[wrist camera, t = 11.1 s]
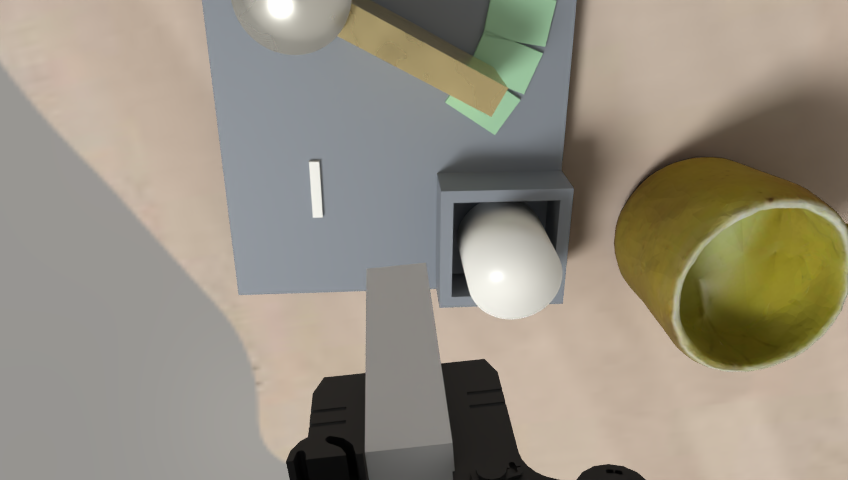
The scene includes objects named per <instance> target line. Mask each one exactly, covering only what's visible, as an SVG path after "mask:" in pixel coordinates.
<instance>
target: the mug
mask: <svg viewBox="0 0 848 480" xmlns="http://www.w3.org/2000/svg"><path fill="white" fill-rule="evenodd" d="M614 247H615V255H616V259H617V263H618V266H619V269H620V272H621V274H622V276H623V278H624V279H625V281H626V282H627V283H628V285H629V286H630V288H631V289H632V290H633V291H634V292H635V293H636V294H637V295H638V296H639V298H640V299H641V300H642V301H643V302H644V303H645V305H646V306H647V308H648V309H649V310H650V312H651V313H652V314H653V316H654V317H655V318H656V320H657V321H658V322H659V324H660V325H661V326H662V328H663V329H664V330H665V332H666V333H667V334H668V336H669V337H670V339H671V340H672V342H673V343H674V344H675V345H676V347H677V348H678V349H680V350H681V351H682V352H683V353H684V354H685V355H687V356H688V357H689V358H691V359H692V360H693V361H695V362H697V363H700V364H702V365H704V366H706V367H709V368H713V369H717V370H721V371H727V372H748V371H754V370H760V369H764V368H768V367H771V366H774V365H777V364H779V363H781V362H784V361H786V360H788V359H791V358H794V357H796V356H797V355H799V354H801V353H802V352H804V351H805V350H807V349H808V348H809V347H810V346H812V345H813V344H814V343H815V342H816V341H817V340H818V339H820V338H821V337H822V336H823V335H824V334H825V333H826V331H827V330H828V329H829V328H830V327H831V326H832V324H833V323H834V321H835V320H836V318H837V316H838V315H839V313H840V312H841V310H842V307H843V304H844V302H845V299H846V297H847V295H848V224H846V223H845V222H844V221H843V220H842V218H841V217H840V216H839V214H838V213H837V212H836V211H835V210H834V209H833V208H831V207H830V206H829V205H828V204H826V203H825V202H824V201H822V200H821V199H820V198H818V197H817V196H816V195H814V194H813V193H811V192H810V191H809V190H807V189H805V188H803V187H801V186H799V185H797V184H795V183H792V182H790V181H787V180H785V179H782V178H779V177H776V176H773V175H770V174H768V173H765V172H762V171H759V170H756V169H754V168H751V167H748V166H745V165H743V164H740V163H737V162H734V161H731V160H728V159H724V158H716V157H702V158H691V159H687V160H683V161H679V162H675V163H673V164H670V165H668V166H666V167H664V168H662V169H660V170H658V171H657V172H655V173H654V174H652V175H651V176H649V177H648V178H647V179H646V180H645V181H644V182H642V183H641V185H640V186H639V187H638V188H637V189H636V190H635V191H634V193H633V194H632V195H631V197H630V198H629V199H628V201H627V202H626V204H625V206H624V207H623V209H622V210H621V213H620V215H619V218H618V221H617V224H616V230H615V239H614Z"/></svg>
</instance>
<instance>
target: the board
mask: <svg viewBox="0 0 848 480" xmlns="http://www.w3.org/2000/svg"><path fill="white" fill-rule="evenodd" d="M371 1H373V2H375V3H377V4H379V5H381V6H382V7H384V8H386V9H388V10H390V11H392V12H393V13H395V14H397V15H399V16H401V17H402V18H404V19H406V20H408V21H410V22H412V23H413V24H415V25H417V26H419V27H421V28H423V29H424V30H426V31H428V32H430V33H432V34H434V35H435V36H437V37H439V38H441V39H443V40H445V41H446V42H448V43H450V44H452V45H454V46H456V47H457V48H459V49H461V50H463V51H465V52H467V53H468V54H470V55H472V56H474V57H476V58H478V59H479V60H481V61H483V62H485V63H487V64H489V65H490V66H492V67H494V68H495V70H496V71H497V73H498V74H499V76H500V77H501V78H502V80H503V81H504V83H505V84H506V85H507V87H508V90H507V91H506V93H505V95H504V96H503V98H502V100H501V102H500V103H499V105H498V107H497V108H496V110H495V112H494V113H493V115H492V117H490V116H489V115H487V114H485V113H483V112H481V111H479V110H477V109H475V108H473V107H471V106H470V105H468V104H466V103H464V102H462V101H460V100H458V99H456V98H454V97H452V96H450V95H449V94H447V93H445V92H443V91H441V90H439V89H437V88H435V87H433V86H431V85H430V84H428V83H426V82H424V81H422V80H420V79H418V78H416V77H414V76H412V75H410V74H409V73H407V72H405V71H403V70H401V69H399V68H397V67H395V66H393V65H391V64H389V63H388V62H386V61H384V60H382V59H380V58H378V57H376V56H374V55H372V54H370V53H369V52H367V51H365V50H363V49H361V48H359V47H357V46H355V45H353V44H351V43H349V42H348V41H346V40H344V39H342V38H340V37H338V36H337V37H336V38H335V39H334V40H333V41H332V42H330V43H329V44H328V45H326V46H325V47H323V48H321V49H320V50H317V51H315V52H312V53H308V54H303V55H287V54H281V53H278V52H274V51H272V50H270V49H267V48H266V47H264V46H262V45H260V44H259V43H258V42H256V41H255V40H254V39H253V38H252V37H251V36H250V35H249V34H248V33H247V32H246V31H245V30H244V28H243V27H242V26H241V24H240V22H239V21H238V19H237V17H236V15H235V12H234V9H233V6H232V2H231V0H202V4H203V12H204V20H205V28H206V36H207V44H208V52H209V61H210V69H211V77H212V85H213V93H214V101H215V109H216V117H217V125H218V133H219V141H220V149H221V157H222V165H223V173H224V181H225V189H226V197H227V205H228V213H229V221H230V229H231V237H232V245H233V253H234V261H235V269H236V277H237V285H238V293H239V295H253V294H285V293H317V292H348V291H366V273H367V269H369V268H379V267H389V266H399V265H409V264H418V263H426V266H427V273H428V280H429V286H430V289H437V295H438V301H439V307H440V308H443V307H473V306H477V305H476V303H475V302H474V301H473V299H472V297H471V295H470V292H469V289H468V285H467V281H466V277H465V273H464V269H463V265H462V261H461V257H460V252H459V248H458V244H457V234H458V229H459V226H460V223H461V221H462V220H463V218H464V217H465V215H466V214H467V213H468V212H469V211H470V210H471V209H472V208H473V207H474V206H476V205H477V204H479V203H481V202H511V201H522V202H524V203H525V204H527V205H528V206H529V207H531V208H532V209H533V211H534V212H535V213H536V215H537V216H538V218H539V220H540V222H541V224H542V226H543V228H544V230H545V232H546V234H547V236H548V237H549V239H550V241H551V243H552V245H553V247H554V249H555V251H556V253H557V255H558V257H559V259H560V262H561V265H562V271H563V273H562V282H561V286H560V288H559V291H558V293H557V294H556V296H555V297H554V299H553V300H552V301H551V302H550V303H549V304H563V295H564V285H565V275H566V264H567V254H568V244H569V234H570V223H571V213H572V203H573V193H574V188H573V186H572V185H571V183H570V182H569V181H568V179H567V178H566V176H565V175H564V173H563V172H562V160H563V149H564V137H565V126H566V115H567V103H568V92H569V81H570V70H571V58H572V47H573V36H574V24H575V13H576V2H577V0H371Z"/></svg>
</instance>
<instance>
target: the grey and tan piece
mask: <svg viewBox="0 0 848 480" xmlns="http://www.w3.org/2000/svg"><path fill="white" fill-rule="evenodd" d="M231 2H232V6H233V9H234V12H235V15H236V17H237V19H238V21H239V22H240V24H241V26H242V27H243V28H244V30H245V31H246V32H247V33H248V34H249V35H250V36H251V37H252V38H253V39H254V40H255V41H256V42H258V43H259V44H260V45H262V46H264V47H266V48H267V49H270V50H272V51H274V52H278V53H281V54H287V55H303V54H308V53H312V52H315V51H317V50H320V49H321V48H323V47H325V46H326V45H328V44H329V43H330V42H332V41H333V40H334V39H335V38H336V37H337V36H338V37H340V38H342V39H344V40H346V41H348V42H349V43H351V44H353V45H355V46H357V47H359V48H361V49H363V50H365V51H367V52H369V53H370V54H372V55H374V56H376V57H378V58H380V59H382V60H384V61H386V62H388V63H389V64H391V65H393V66H395V67H397V68H399V69H401V70H403V71H405V72H407V73H409V74H410V75H412V76H414V77H416V78H418V79H420V80H422V81H424V82H426V83H428V84H430V85H431V86H433V87H435V88H437V89H439V90H441V91H443V92H445V93H447V94H449V95H450V96H452V97H454V98H456V99H458V100H460V101H462V102H464V103H466V104H468V105H470V106H471V107H473V108H475V109H477V110H479V111H481V112H483V113H485V114H487V115H489V116H490V117H492V115H493V113H494V112H495V110H496V108H497V107H498V105H499V103H500V102H501V100H502V98H503V96H504V95H505V93H506V91H507V90H508V87H507V85H506V84H505V83H504V81H503V80H502V78H501V77H500V76H499V74H498V73H497V71H496V70H495V68H494V67H492V66H490V65H489V64H487V63H485V62H483V61H481V60H479V59H478V58H476V57H474V56H472V55H470V54H468V53H467V52H465V51H463V50H461V49H459V48H457V47H456V46H454V45H452V44H450V43H448V42H446V41H445V40H443V39H441V38H439V37H437V36H435V35H434V34H432V33H430V32H428V31H426V30H424V29H423V28H421V27H419V26H417V25H415V24H413V23H412V22H410V21H408V20H406V19H404V18H402V17H401V16H399V15H397V14H395V13H393V12H392V11H390V10H388V9H386V8H384V7H382V6H381V5H379V4H377V3H375V2H373V1H371V0H231Z"/></svg>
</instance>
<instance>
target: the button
mask: <svg viewBox="0 0 848 480" xmlns="http://www.w3.org/2000/svg"><path fill="white" fill-rule="evenodd" d="M457 244H458V248H459V252H460V257H461V261H462V265H463V269H464V273H465V277H466V281H467V285H468V289H469V292H470V295H471V297H472V299H473V301H474V302H475V303H476V305H477V306H478V307H479V308H480V309H482V310H483V311H484V312H486V313H488V314H489V315H492V316H494V317H497V318H502V319H520V318H525V317H528V316H531V315H533V314H535V313H537V312H539V311H541V310H542V309H543V308H545V307H546V306H547V305H548V304H549V303H550V302H551V301H552V300H553V299H554V297H555V296H556V294H557V293H558V291H559V288H560V286H561V282H562V273H563V271H562V265H561V262H560V259H559V257H558V255H557V253H556V251H555V249H554V247H553V245H552V243H551V241H550V239H549V237H548V236H547V234H546V232H545V230H544V228H543V226H542V224H541V222H540V220H539V218H538V216H537V215H536V213H535V212H534V211H533V209H532V208H531V207H529V206H528V205H527V204H525V203H524V202H522V201H511V202H481V203H479V204H477V205H476V206H474V207H473V208H472V209H471V210H470V211H469V212H468V213H467V214H466V215H465V217H464V218H463V220H462V221H461V223H460V226H459V229H458V234H457Z"/></svg>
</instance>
